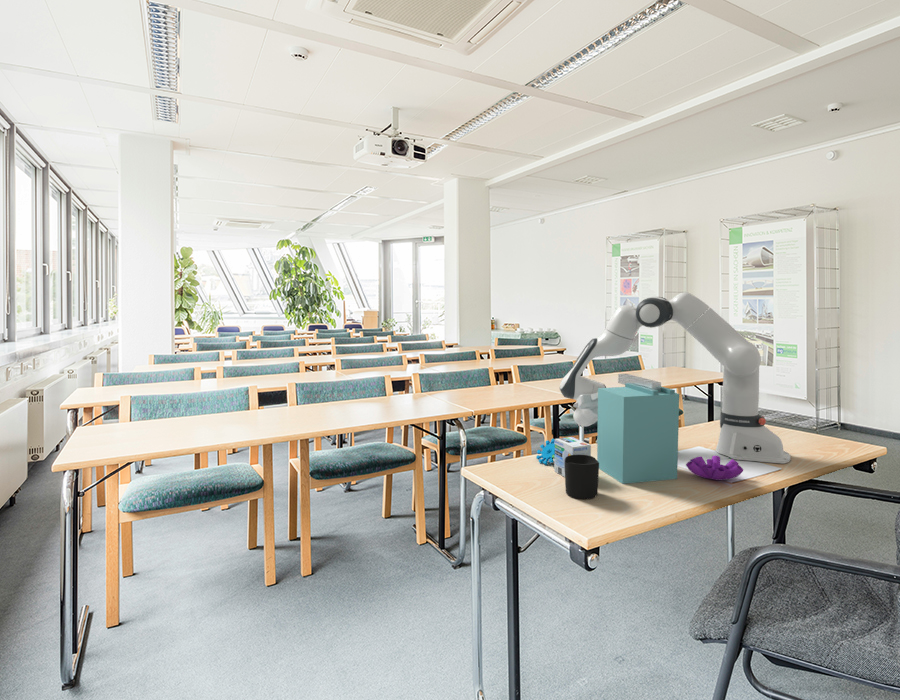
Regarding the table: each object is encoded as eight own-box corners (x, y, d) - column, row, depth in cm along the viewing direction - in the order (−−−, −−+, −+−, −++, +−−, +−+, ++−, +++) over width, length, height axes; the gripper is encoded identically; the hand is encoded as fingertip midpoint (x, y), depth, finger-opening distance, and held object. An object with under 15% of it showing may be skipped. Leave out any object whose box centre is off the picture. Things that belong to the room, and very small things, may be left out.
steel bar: (618, 382, 179) (618, 374, 179) (626, 382, 180) (626, 373, 179) (651, 392, 159) (652, 382, 159) (660, 392, 160) (661, 382, 160)
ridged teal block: (597, 467, 171) (598, 384, 169) (647, 463, 175) (649, 381, 172) (622, 483, 156) (623, 392, 153) (677, 478, 159) (679, 389, 157)
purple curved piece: (693, 482, 166) (703, 454, 169) (744, 495, 154) (753, 465, 157) (679, 466, 160) (689, 438, 163) (730, 479, 148) (740, 448, 151)
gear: (530, 454, 181) (549, 433, 182) (539, 464, 183) (558, 443, 184) (547, 468, 171) (567, 445, 172) (557, 478, 173) (577, 455, 174)
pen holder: (604, 493, 149) (605, 458, 148) (588, 503, 142) (589, 466, 141) (574, 485, 155) (574, 452, 154) (558, 494, 148) (558, 460, 147)
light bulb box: (553, 471, 168) (553, 438, 167) (571, 468, 170) (571, 436, 169) (572, 482, 158) (572, 446, 157) (591, 479, 160) (591, 444, 159)
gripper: (569, 399, 197) (583, 385, 185) (619, 396, 201) (637, 382, 189) (573, 415, 195) (587, 402, 182) (624, 412, 199) (641, 399, 186)
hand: (613, 392), depth 186 cm, fingers open, 8 cm apart
